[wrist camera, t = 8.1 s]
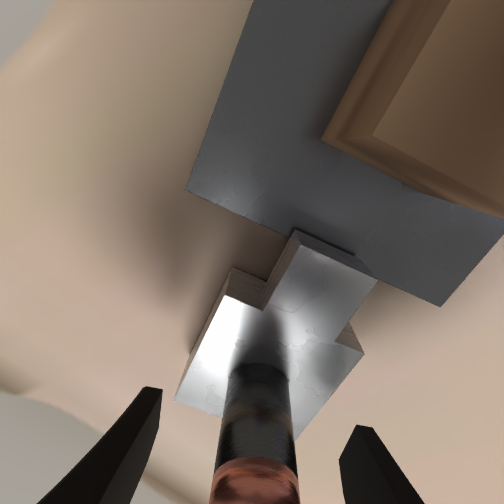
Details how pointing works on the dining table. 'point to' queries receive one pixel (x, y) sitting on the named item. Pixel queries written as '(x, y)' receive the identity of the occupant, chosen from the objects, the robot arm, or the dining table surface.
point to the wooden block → (432, 101)
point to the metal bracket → (326, 153)
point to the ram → (274, 364)
